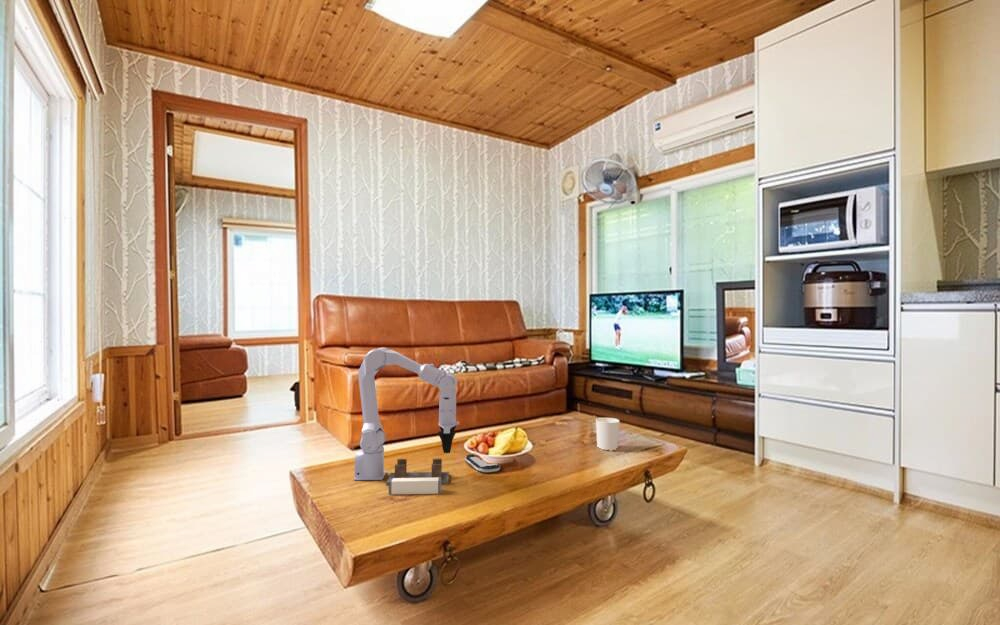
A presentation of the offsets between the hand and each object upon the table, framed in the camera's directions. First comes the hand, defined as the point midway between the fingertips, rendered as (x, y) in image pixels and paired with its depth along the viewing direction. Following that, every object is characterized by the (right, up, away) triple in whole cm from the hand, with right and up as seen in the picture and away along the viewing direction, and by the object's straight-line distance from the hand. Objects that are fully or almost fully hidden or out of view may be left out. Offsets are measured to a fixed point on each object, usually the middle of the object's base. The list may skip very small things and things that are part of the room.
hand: (447, 449), depth 161 cm
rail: (-9, -10, -13) cm, 18 cm away
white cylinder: (+63, -11, +37) cm, 74 cm away
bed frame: (-9, -10, -2) cm, 14 cm away
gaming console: (+11, -11, +14) cm, 21 cm away
